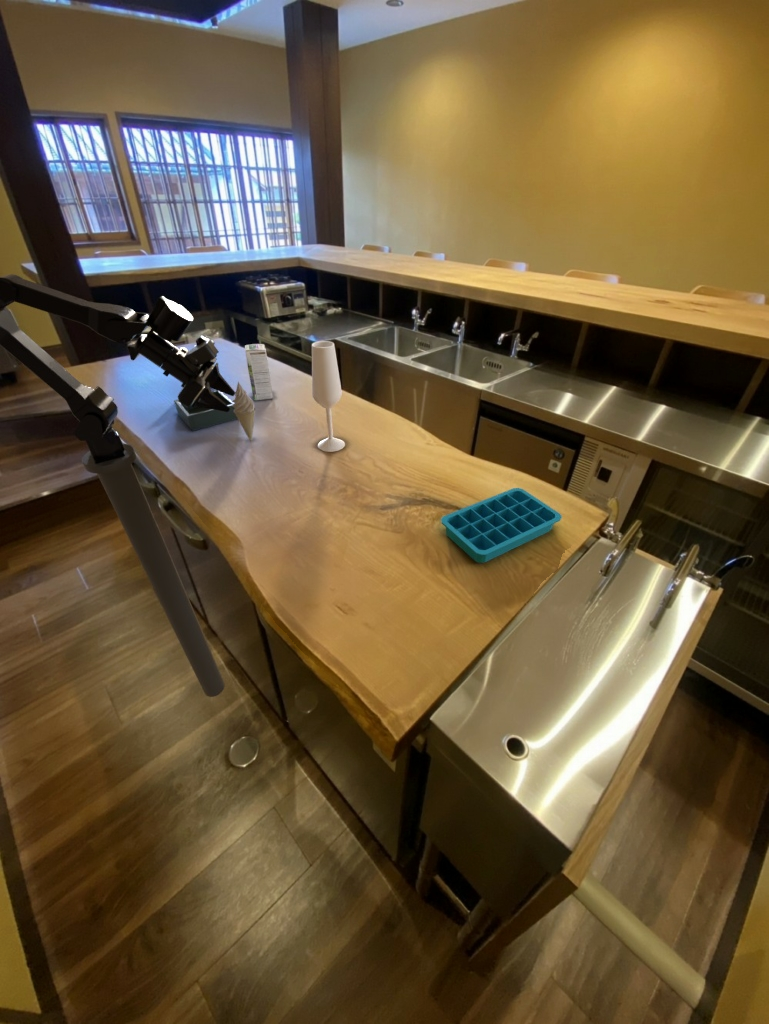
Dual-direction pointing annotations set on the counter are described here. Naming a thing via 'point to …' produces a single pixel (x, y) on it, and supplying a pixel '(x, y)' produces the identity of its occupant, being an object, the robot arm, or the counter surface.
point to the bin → (205, 413)
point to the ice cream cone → (244, 410)
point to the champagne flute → (326, 387)
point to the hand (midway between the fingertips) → (231, 402)
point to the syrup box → (258, 371)
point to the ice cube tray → (499, 524)
